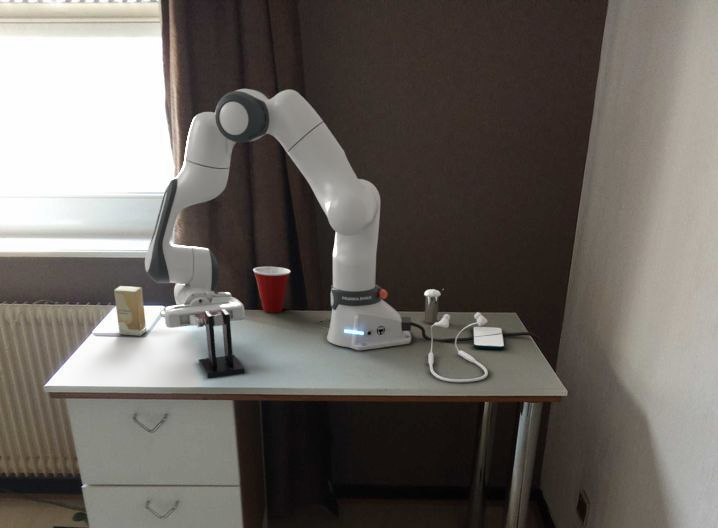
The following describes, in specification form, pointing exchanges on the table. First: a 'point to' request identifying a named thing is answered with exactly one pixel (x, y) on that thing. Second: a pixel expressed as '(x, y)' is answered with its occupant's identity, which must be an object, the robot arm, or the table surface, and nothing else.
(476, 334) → the smartphone
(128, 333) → the cosmetic box
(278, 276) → the plastic cup
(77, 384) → the table surface
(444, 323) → the earphone
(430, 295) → the milkshake
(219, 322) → the lever
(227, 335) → the bracket
